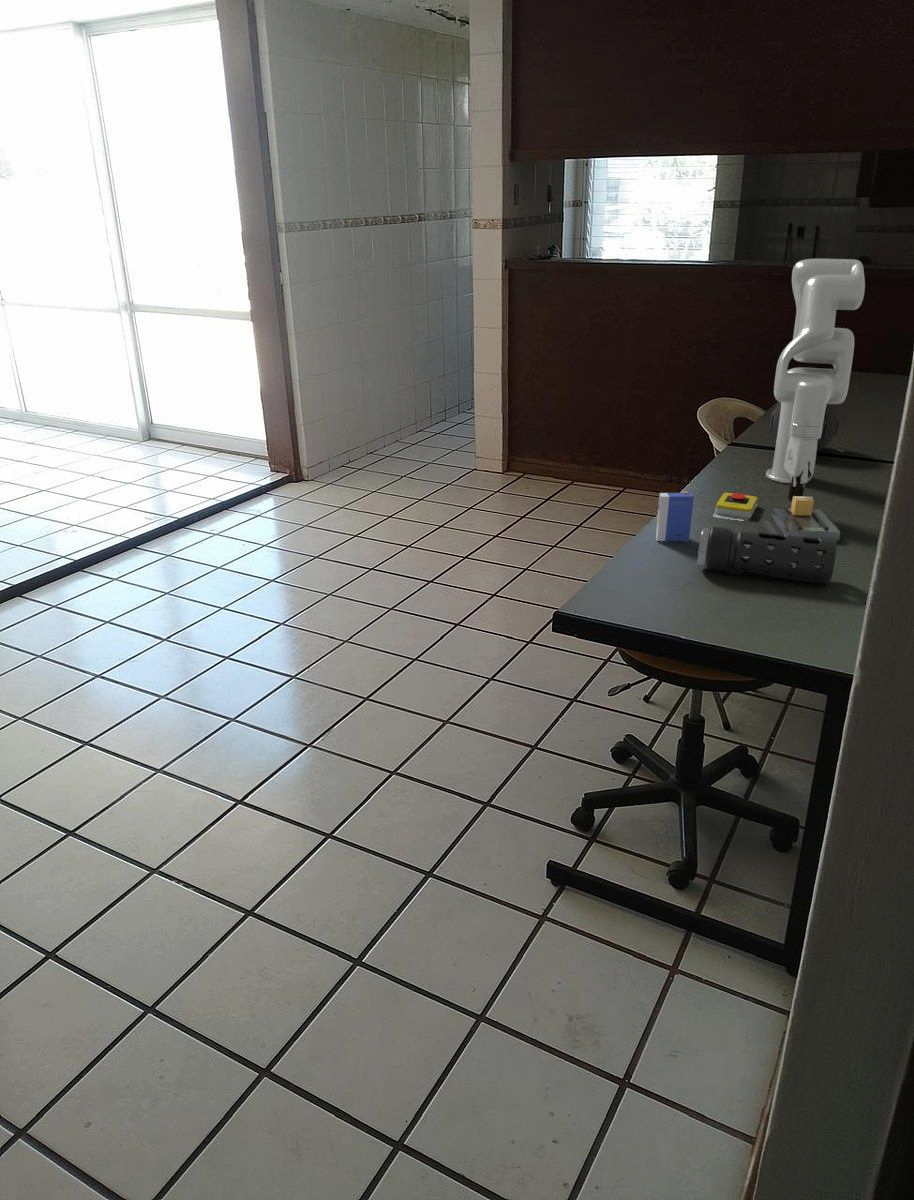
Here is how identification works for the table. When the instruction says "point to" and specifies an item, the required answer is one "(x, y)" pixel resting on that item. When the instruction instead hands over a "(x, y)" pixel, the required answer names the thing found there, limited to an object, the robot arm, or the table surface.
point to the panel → (806, 524)
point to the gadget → (827, 430)
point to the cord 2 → (832, 522)
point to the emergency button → (735, 506)
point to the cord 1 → (769, 527)
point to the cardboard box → (802, 505)
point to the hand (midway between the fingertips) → (794, 500)
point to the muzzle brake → (767, 554)
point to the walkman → (674, 517)
